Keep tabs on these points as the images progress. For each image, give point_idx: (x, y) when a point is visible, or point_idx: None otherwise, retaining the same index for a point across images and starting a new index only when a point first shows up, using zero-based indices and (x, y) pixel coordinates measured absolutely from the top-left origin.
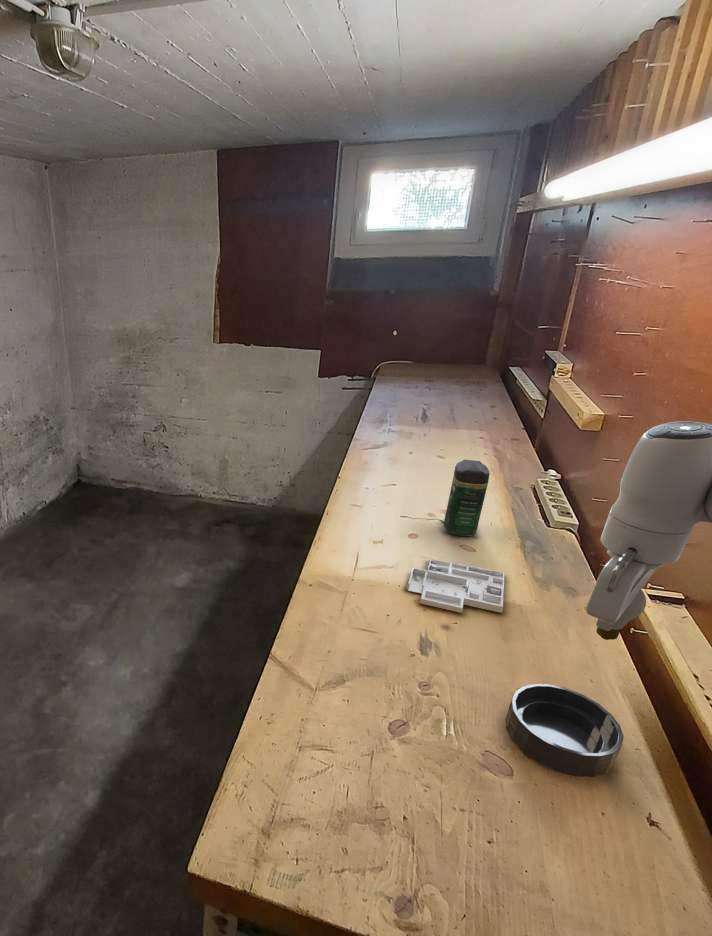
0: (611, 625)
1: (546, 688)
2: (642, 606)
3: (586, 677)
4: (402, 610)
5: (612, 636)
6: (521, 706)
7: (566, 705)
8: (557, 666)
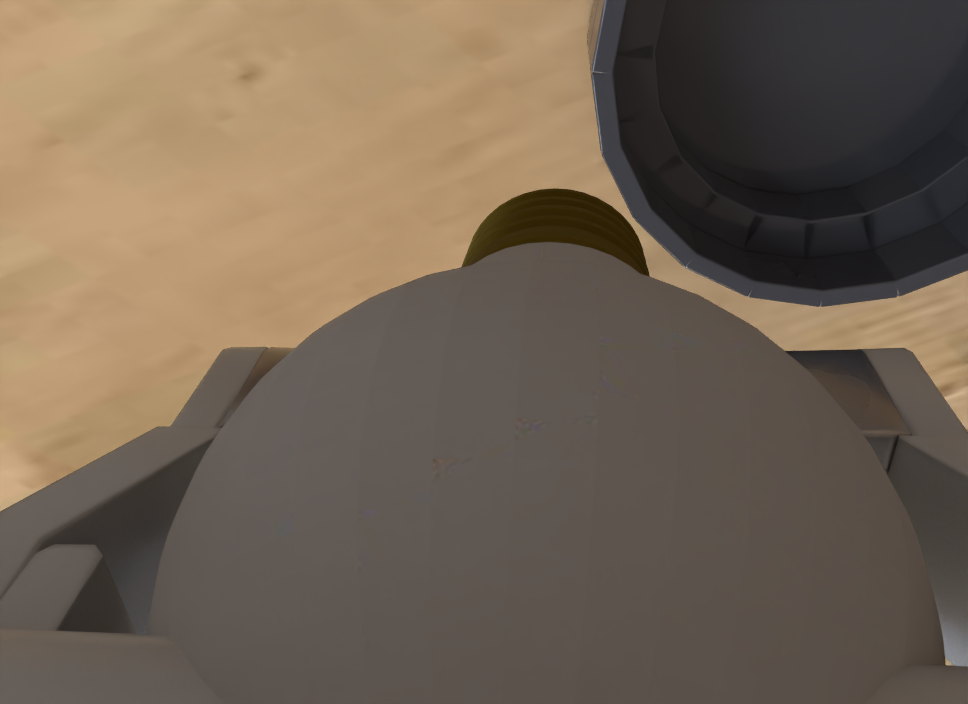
0: (936, 399)
1: (662, 215)
2: (673, 406)
3: (243, 99)
4: None
5: (623, 234)
6: (808, 235)
7: (644, 93)
8: (284, 217)
